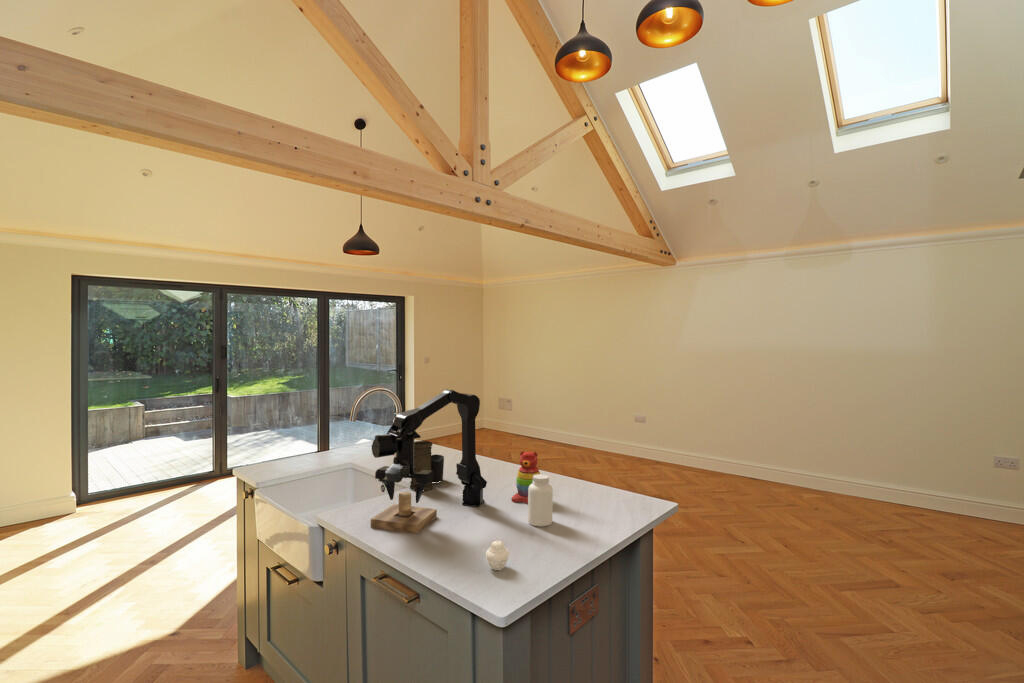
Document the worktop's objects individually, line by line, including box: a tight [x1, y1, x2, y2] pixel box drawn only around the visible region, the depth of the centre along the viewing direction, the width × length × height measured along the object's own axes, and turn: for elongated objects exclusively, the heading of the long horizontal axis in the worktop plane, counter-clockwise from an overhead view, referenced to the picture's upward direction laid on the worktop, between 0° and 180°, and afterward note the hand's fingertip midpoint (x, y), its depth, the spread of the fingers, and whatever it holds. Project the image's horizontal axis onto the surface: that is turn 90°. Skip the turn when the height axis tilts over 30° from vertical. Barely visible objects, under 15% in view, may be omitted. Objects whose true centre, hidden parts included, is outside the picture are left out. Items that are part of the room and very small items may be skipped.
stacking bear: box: [510, 451, 541, 504], centre depth 172 cm, size 11×10×18 cm
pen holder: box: [431, 454, 445, 482], centre depth 193 cm, size 9×9×10 cm
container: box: [409, 440, 434, 491], centre depth 184 cm, size 9×9×18 cm
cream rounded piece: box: [485, 540, 510, 571], centre depth 119 cm, size 6×6×7 cm
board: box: [370, 503, 438, 534], centre depth 149 cm, size 16×14×2 cm
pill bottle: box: [527, 473, 554, 527], centre depth 150 cm, size 8×8×15 cm
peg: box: [398, 491, 412, 518], centre depth 149 cm, size 4×4×9 cm
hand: (404, 501), depth 149 cm, fingers open, 9 cm apart
